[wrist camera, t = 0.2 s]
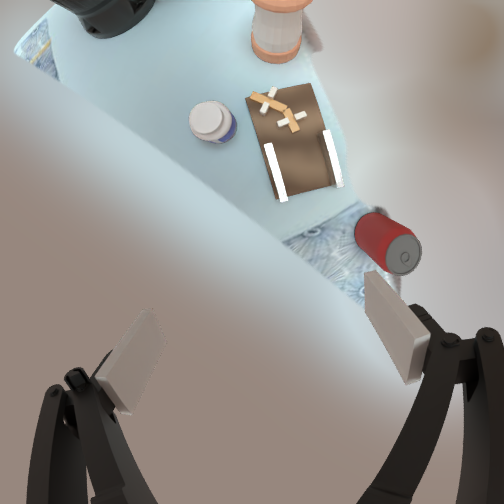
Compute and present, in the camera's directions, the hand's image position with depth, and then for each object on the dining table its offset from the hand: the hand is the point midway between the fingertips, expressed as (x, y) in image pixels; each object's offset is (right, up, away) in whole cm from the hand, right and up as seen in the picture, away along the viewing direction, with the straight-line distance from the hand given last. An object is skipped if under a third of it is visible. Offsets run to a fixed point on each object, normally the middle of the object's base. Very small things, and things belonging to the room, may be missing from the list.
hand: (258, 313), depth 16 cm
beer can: (+19, +7, +26) cm, 33 cm away
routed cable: (+3, +24, +19) cm, 31 cm away
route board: (+6, +20, +22) cm, 30 cm away
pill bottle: (-5, +22, +22) cm, 32 cm away
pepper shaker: (+3, +36, +17) cm, 39 cm away
